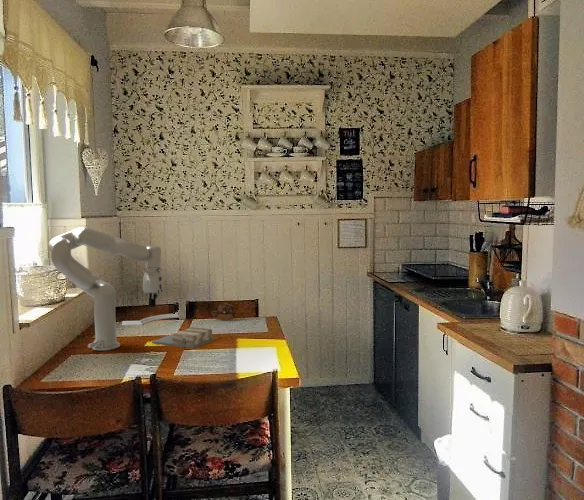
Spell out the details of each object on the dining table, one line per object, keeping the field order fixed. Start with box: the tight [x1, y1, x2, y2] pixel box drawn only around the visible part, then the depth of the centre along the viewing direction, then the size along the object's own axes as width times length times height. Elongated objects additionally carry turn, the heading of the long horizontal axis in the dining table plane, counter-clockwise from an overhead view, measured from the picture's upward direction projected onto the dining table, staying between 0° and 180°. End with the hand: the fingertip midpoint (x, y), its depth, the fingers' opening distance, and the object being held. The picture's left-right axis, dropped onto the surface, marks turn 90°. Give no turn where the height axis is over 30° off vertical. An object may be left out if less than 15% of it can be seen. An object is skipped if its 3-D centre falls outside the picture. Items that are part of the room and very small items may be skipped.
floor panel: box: [151, 332, 216, 349], centre depth 249 cm, size 18×25×1 cm
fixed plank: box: [182, 327, 213, 346], centre depth 245 cm, size 16×6×4 cm, turn 155°
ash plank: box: [172, 326, 202, 345], centre depth 248 cm, size 16×7×4 cm, turn 155°
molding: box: [121, 309, 183, 327], centre depth 301 cm, size 42×12×3 cm, turn 139°
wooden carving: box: [210, 302, 238, 321], centre depth 296 cm, size 16×5×10 cm, turn 77°
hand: (152, 306), depth 252 cm, fingers closed
